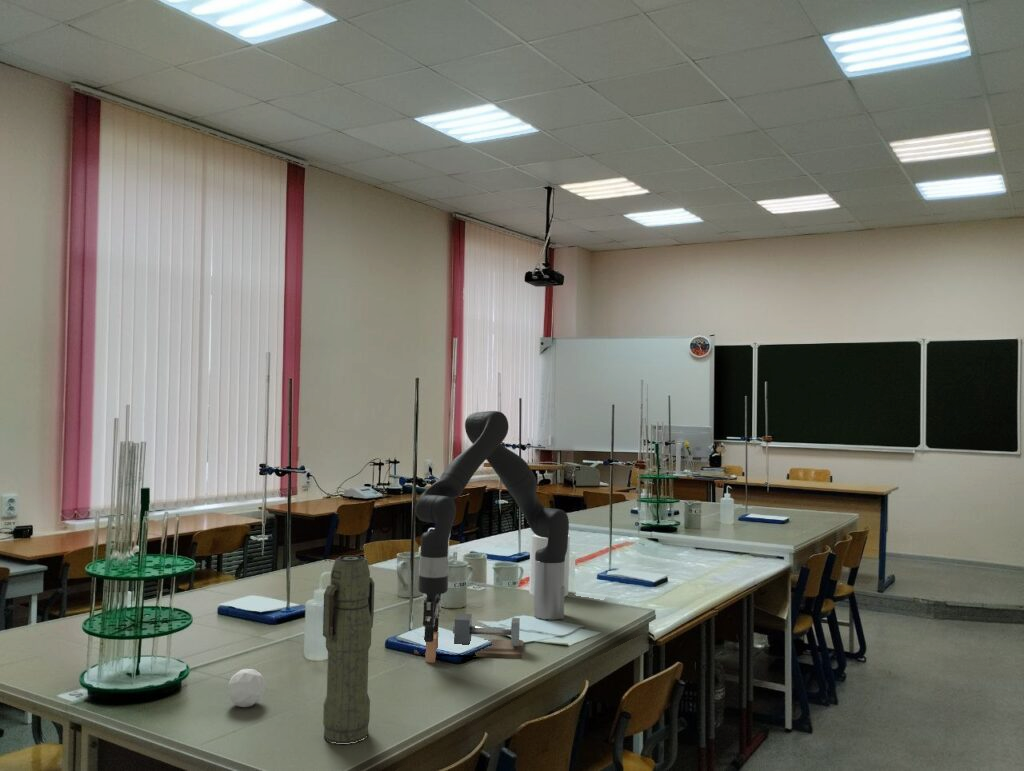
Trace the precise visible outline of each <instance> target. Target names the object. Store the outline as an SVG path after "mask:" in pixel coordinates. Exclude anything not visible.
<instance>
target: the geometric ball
mask: <svg viewBox="0 0 1024 771" xmlns="http://www.w3.org/2000/svg"><path fill="white" fill-rule="evenodd" d="M265 689H266V680H265V679H264V677H263V675H262V674H261V673H260V672H258V671H257V670H256V669H254V668H242V669H241V670H239V671H237V672H236V673H234V674H233V675H232V676H231V678H230V681H229V683H228V686H227V696H228V697H229V700H230V701H231V702H232V704H234V705H236V706H237V707H239V708H240V707H241V708H248V707H249V708H250V707H252V706H254V705H255V704H257V703H258V702H259V701H261V700H262V698H263V695H264V693H265Z"/></svg>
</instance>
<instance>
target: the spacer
mask: <svg viewBox="0 0 1024 771" xmlns="http://www.w3.org/2000/svg"><path fill="white" fill-rule="evenodd" d="M439 634H440V633H439V631H438V632H434V640H433V641H432V642H426V652H425V654H424V655H425V657H424V658H425V659H424V660H425V661H424V663H429V664H430V663H433V664H435V663H436V658H437V657H436V649H437V648H438V637H439Z"/></svg>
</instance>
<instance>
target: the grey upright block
mask: <svg viewBox="0 0 1024 771" xmlns="http://www.w3.org/2000/svg"><path fill="white" fill-rule="evenodd" d="M472 620H473V614H472V613H456V616H455V617H454V625H453V626H454V633H453V635H454V637H453V638H454V644H462V645H469V644H470V641H471V638H472V634H470V626H472V624H473V621H472Z"/></svg>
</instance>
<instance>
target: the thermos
mask: <svg viewBox="0 0 1024 771" xmlns="http://www.w3.org/2000/svg"><path fill="white" fill-rule="evenodd" d="M370 574H371V572H370V568H369V563H368V561H367V559H366V558H365V557H363V556H362V555H361V556H360V555H356V554H355V555H342V556H339V557H338V558H335V561H334V563H333V566H332V568H331V572H330V584H329V585H328V586H327V587H326V589H325V591H324V592H323V612H322V613H323V614H322V615H323V616H322V617H323V619H322V620H323V621H322V636H323V637H324V638H325V648H326V651H327V675H326V676H327V679H326V697H325V699H324V702H323V717H322V718H323V719H322V720H323V721H322V723H323V727H324V728H323V729H324V730H323V739H324V738H325V739H326V740H328V741H330V742H336V743H350V742H356V741H359V740H361V739H363V738H365V737H366V736H367V735H368V736H369V723H370V718H371V717H370V715H371V714H370V712H371V711H370V710H371V708H370V707H371V703H370V702H371V700H370V696H369V693H368V685H369V684H368V682H369V681H368V680H369V650H370V648H371V645H372V628H373V627H374V615H375V614H374V613H375V610H374V609H375V581H374V580H373V577H370V576H371V575H370ZM325 739H324V740H325ZM326 740H325V741H326Z"/></svg>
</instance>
